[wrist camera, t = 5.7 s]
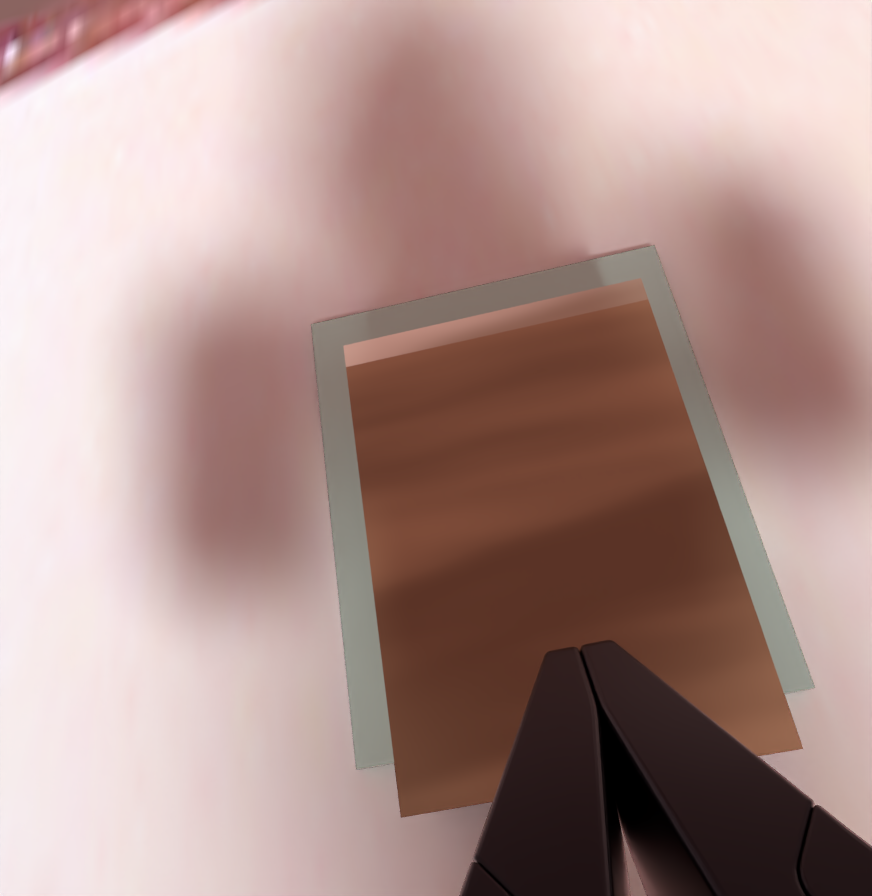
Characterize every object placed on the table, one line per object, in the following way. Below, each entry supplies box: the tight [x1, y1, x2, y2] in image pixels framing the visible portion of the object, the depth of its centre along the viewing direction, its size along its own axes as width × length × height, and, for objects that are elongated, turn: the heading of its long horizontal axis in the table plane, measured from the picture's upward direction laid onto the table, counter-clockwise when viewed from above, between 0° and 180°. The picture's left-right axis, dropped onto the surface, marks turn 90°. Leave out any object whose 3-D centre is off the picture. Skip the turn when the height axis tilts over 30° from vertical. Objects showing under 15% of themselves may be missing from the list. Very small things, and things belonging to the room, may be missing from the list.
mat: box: [311, 245, 815, 769], centre depth 18 cm, size 12×10×1 cm
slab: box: [343, 278, 803, 817], centre depth 16 cm, size 3×7×10 cm
